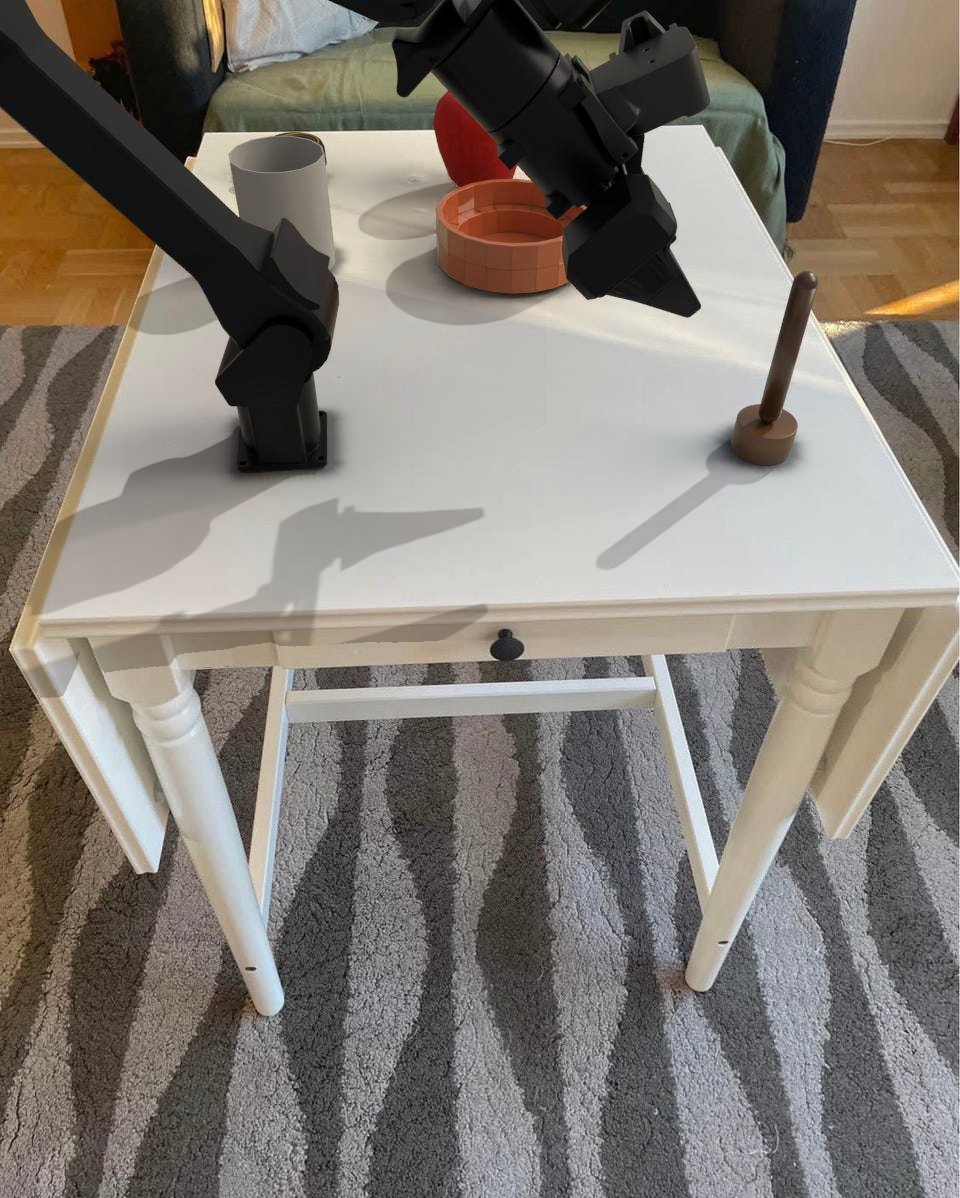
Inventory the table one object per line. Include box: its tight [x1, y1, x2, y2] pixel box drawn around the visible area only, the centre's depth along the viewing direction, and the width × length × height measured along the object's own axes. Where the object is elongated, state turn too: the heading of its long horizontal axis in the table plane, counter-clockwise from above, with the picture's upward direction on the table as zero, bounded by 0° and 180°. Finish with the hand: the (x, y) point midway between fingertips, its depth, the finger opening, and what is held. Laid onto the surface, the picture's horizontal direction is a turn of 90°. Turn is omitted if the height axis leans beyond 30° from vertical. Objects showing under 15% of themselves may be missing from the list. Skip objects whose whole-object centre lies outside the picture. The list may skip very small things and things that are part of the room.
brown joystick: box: [730, 270, 819, 466], centre depth 67 cm, size 4×4×14 cm
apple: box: [432, 90, 518, 188], centre depth 99 cm, size 10×10×11 cm
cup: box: [227, 135, 336, 271], centre depth 88 cm, size 8×8×10 cm
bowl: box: [435, 178, 587, 294], centre depth 90 cm, size 14×14×5 cm
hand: (682, 275), depth 62 cm, fingers open, 9 cm apart
